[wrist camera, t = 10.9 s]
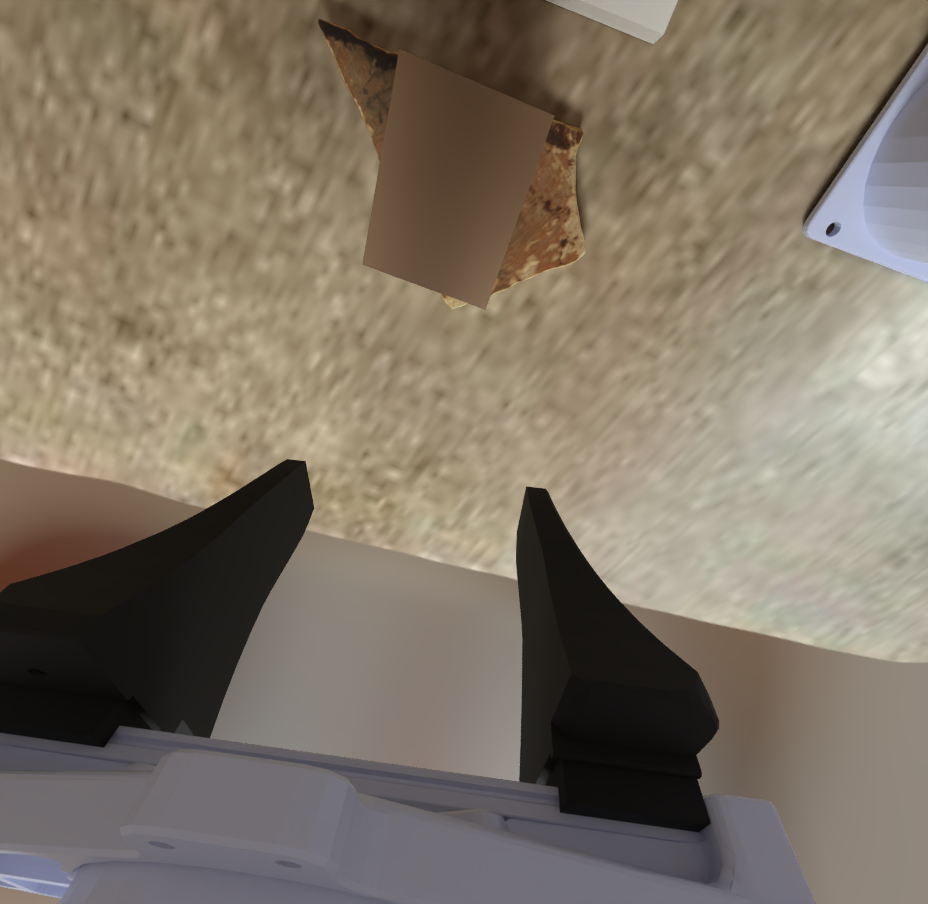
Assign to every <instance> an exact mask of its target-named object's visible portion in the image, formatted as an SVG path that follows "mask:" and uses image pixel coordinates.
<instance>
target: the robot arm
mask: <svg viewBox="0 0 928 904" xmlns="http://www.w3.org/2000/svg"><path fill="white" fill-rule="evenodd" d="M831 223H834V226H835V227H834V229H833V231H832V232H831V233H830V234H828V235H826V229H827V227H828V226H829V225H830V224H831ZM803 233H804V235H805V236H806V237H808V238H810V239H813V240H816V241H818V242H821V243H824V244H826V245H829V246H832V247H834V248H837V249H840V250H842V251H845V252H848V253H850V254H853V255H855V256H858V257H861V258H863V259H866V260H869V261H871V262H874V263H877V264H879V265H882V266H885V267H887V268H890V269H893V270H895V271H898V272H901V273H903V274H906V275H909V276H911V277H914V278H917V279H919V280H922V281H925V282H927V283H928V44H927V45H926V47H925V48H924V49H923V51H922V52H921V54H920V55H919V57H918V58H917V60H916V61H915V63H914V64H913V65H912V67H911V68H910V70H909V71H908V73H907V74H906V76H905V77H904V79H903V80H902V81H901V83H900V84H899V86H898V87H897V89H896V90H895V92H894V93H893V95H892V96H891V97H890V99H889V100H888V102H887V103H886V105H885V106H884V108H883V109H882V111H881V112H880V113H879V115H878V116H877V118H876V119H875V121H874V122H873V124H872V125H871V127H870V128H869V129H868V131H867V132H866V134H865V135H864V137H863V138H862V140H861V141H860V143H859V144H858V145H857V147H856V148H855V150H854V151H853V153H852V154H851V156H850V157H849V159H848V160H847V161H846V163H845V164H844V166H843V167H842V169H841V170H840V172H839V173H838V175H837V176H836V177H835V179H834V180H833V182H832V183H831V185H830V186H829V188H828V189H827V191H826V192H825V193H824V195H823V196H822V198H821V199H820V201H819V202H818V204H817V205H816V207H815V208H814V209H813V211H812V212H811V214H810V215H809V217H808V218H807V220H806V221H805V223H804V225H803ZM313 510H314V505H313V499H312V494H311V489H310V483H309V478H308V472H307V467H306V461H298V460H289V459H287V460H285V461H283V462H282V463H280V464H278V465H277V466H275V467H274V468H272V469H270V470H269V471H267V472H266V473H264V474H263V475H261V476H260V477H258V478H257V479H255V480H253V481H252V482H250V483H249V484H247V485H245V486H244V487H242V488H241V489H239V490H238V491H236V492H234V493H233V494H231V495H229V496H228V497H226V498H224V499H223V500H221V501H219V502H217V503H216V504H214V505H212V506H210V507H209V508H207V509H205V510H204V511H202V512H200V513H198V514H196V515H194V516H193V517H191V518H189V519H187V520H185V521H183V522H181V523H179V524H177V525H175V526H173V527H171V528H168V529H166V530H164V531H162V532H160V533H158V534H155V535H153V536H151V537H148V538H146V539H143V540H141V541H139V542H136V543H134V544H131V545H129V546H126V547H124V548H122V549H119V550H117V551H114V552H111V553H108V554H106V555H103V556H100V557H97V558H94V559H91V560H88V561H85V562H83V563H80V564H77V565H74V566H71V567H67V568H64V569H61V570H57V571H54V572H51V573H47V574H44V575H40V576H37V577H34V578H30V579H27V580H23V581H20V582H16V583H12V584H10V585H8V586H7V587H6V588H5V589H4V590H2V591H1V592H0V886H1V887H6V888H11V889H16V890H21V891H26V892H32V893H36V894H42V895H47V896H52V897H57V898H61V900H60V901H59V903H58V904H816V903H815V901H814V899H813V896H812V894H811V892H810V889H809V887H808V884H807V882H806V880H805V877H804V875H803V872H802V870H801V868H800V865H799V863H798V861H797V858H796V856H795V853H794V851H793V849H792V846H791V844H790V841H789V839H788V837H787V834H786V832H785V830H784V827H783V825H782V822H781V820H780V818H779V815H778V813H777V810H776V808H775V806H774V804H772V803H771V802H770V801H767V800H761V799H753V798H746V797H738V796H732V795H724V794H710V795H705V796H702V793H701V790H700V787H699V783H698V781H697V779H700V778H701V776H702V772H701V769H700V765H699V762H698V759H697V756H696V754H698V753H699V752H700V751H701V750H702V748H704V747H705V746H706V745H707V743H709V742H710V740H711V739H712V738H713V736H714V735H715V734H716V732H717V730H718V729H719V720H718V717H717V715H716V712H715V709H714V707H713V704H712V701H711V699H710V697H709V695H708V692H707V690H706V688H705V686H704V685H703V682H702V680H701V678H700V676H699V674H698V672H697V671H696V670H694V669H693V668H692V667H691V666H689V665H688V664H687V663H686V662H685V661H683V660H682V659H681V658H680V657H679V656H677V655H676V654H675V653H674V652H672V651H671V650H670V649H669V648H668V647H666V646H665V645H664V644H663V643H662V642H661V641H660V640H658V639H657V638H656V637H655V636H654V635H653V634H652V633H651V632H650V631H649V630H648V629H646V628H645V627H644V626H643V625H642V624H641V623H640V622H639V621H638V620H637V619H636V618H635V617H634V616H633V615H632V614H631V613H630V611H629V610H628V609H627V608H626V607H625V606H624V605H623V604H622V603H621V602H620V601H619V600H618V599H617V598H616V597H615V595H614V594H613V593H612V592H611V591H610V590H609V588H608V587H607V586H606V585H605V584H604V582H603V581H602V580H601V579H600V577H599V576H598V575H597V574H596V572H595V571H594V570H593V568H592V567H591V565H590V564H589V563H588V561H587V560H586V558H585V557H584V555H583V554H582V552H581V551H580V549H579V548H578V546H577V545H576V543H575V542H574V540H573V538H572V537H571V535H570V533H569V532H568V530H567V528H566V527H565V525H564V523H563V521H562V519H561V518H560V516H559V514H558V512H557V510H556V508H555V506H554V504H553V502H552V500H551V497H550V495H549V493H548V491H547V490H546V489H542V488H534V487H526V491H525V496H524V500H523V505H522V510H521V515H520V520H519V525H518V530H517V547H516V565H517V577H518V587H519V598H520V609H521V621H522V638H523V647H522V648H523V649H522V656H523V657H522V714H521V715H522V716H521V717H522V718H521V750H520V777H519V782H517V781H510V780H503V779H495V778H489V777H482V776H474V775H467V774H460V773H453V772H445V771H439V770H432V769H425V768H417V767H410V766H403V765H396V764H389V763H381V762H375V761H368V760H361V759H353V758H346V757H338V756H332V755H324V754H318V753H311V752H303V751H296V750H289V749H282V748H275V747H268V746H261V745H254V744H247V743H239V742H232V741H225V740H218V739H211V738H210V736H211V733H212V730H213V727H214V724H215V722H216V719H217V716H218V713H219V711H220V708H221V705H222V702H223V699H224V697H225V694H226V692H227V689H228V686H229V684H230V681H231V679H232V676H233V673H234V671H235V668H236V666H237V663H238V661H239V659H240V656H241V654H242V652H243V649H244V647H245V644H246V642H247V640H248V637H249V635H250V632H251V630H252V628H253V626H254V624H255V621H256V619H257V617H258V615H259V613H260V610H261V608H262V606H263V604H264V602H265V601H266V599H267V597H268V595H269V593H270V591H271V590H272V588H273V586H274V584H275V583H276V581H277V579H278V578H279V576H280V574H281V573H282V571H283V569H284V567H285V566H286V564H287V562H288V561H289V559H290V557H291V555H292V554H293V552H294V550H295V549H296V547H297V545H298V543H299V542H300V540H301V538H302V536H303V534H304V532H305V530H306V527H307V525H308V523H309V520H310V518H311V515H312V512H313Z"/></svg>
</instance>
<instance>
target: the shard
mask: <svg viewBox="0 0 928 904" xmlns="http://www.w3.org/2000/svg"><path fill="white" fill-rule="evenodd" d="M318 24H319V26H320V28H321V30H322V31H323V33H324V36H325V38H326V41H327V44H328V46H329V48H330V50H331V52H332V53H333V55H334V58H335V60H336V63H337V66H338V68H339V70H340V72H341V75H342V77H343V80H344V82H345V84H346V86H347V88H348V90H349V91H350V93H351V95H352V97H353V99H354V100H355V102H356V104H357V106H358V107H359V109H360V112H361V116H362V118H363V120H364V122H365V124H366V127H367V129H368V131H369V134H370V136H371V138H372V141H373V144H374V146H375V149H376V151H377V153H378V157H379V161H380V159H381V153H382V148H383V142H384V136H385V130H386V124H387V118H388V112H389V107H390V101H391V95H392V89H393V83H394V77H395V71H396V66H397V60H398V54H399V53H398V52H389V51H386V50H384V49H382V48H381V47H378V46H375V45H372V44H371V43H369V42H367V41H365V40H362V39H360V38H358V37H357V36H356V35H355V34H354V33H353V32H352V31H351V30H349V29H348V28H344V27H340V26H338V25H335V24H333V23H331V22H328V21H324V20H321V19H319V20H318ZM582 138H583V131H582V130H581V129H580V128H578V127H574V126H568V125H566V124H564V123H563V122H559V121H556V120H553V122H552V124H551V127H550V130H549V133H548V136H547V138H546V141H545V144H544V147H543V150H542V152H541V155H540V158H539V161H538V164H537V166H536V169H535V172H534V175H533V178H532V180H531V183H530V186H529V189H528V192H527V194H526V197H525V200H524V203H523V206H522V209H521V211H520V214H519V217H518V220H517V223H516V225H515V228H514V231H513V234H512V237H511V239H510V242H509V245H508V248H507V251H506V253H505V256H504V259H503V262H502V265H501V267H500V270H499V273H498V276H497V279H496V281H495V284H494V287H493V290H492V293H491V295H490V296H492V295H494V294H496V293H499V292H501V291H503V290H506V289H508V288H510V287H511V286H513V285H514V284H516V283H518V282H522V281H525V280H527V279H529V278H532V277H534V276H536V275H538V274H540V273H543V272H545V271H547V270H550V269H555V268H561V267H563V266H567V265H570V264H572V263H574V262H577V261H578V260H579V259H580V258H581V257H582V256H583V255H584V254H585V251H586V247H585V242H584V235H583V232H582V229H581V226H580V218H579V211H578V206H577V199H576V192H575V185H576V154H577V150H578V147H579V145H580V143H581V141H582ZM442 297H443V299H444V301H445V302H446V303H447V304H448V305H449V306H450V307H451V309H455V308H458V307H461V306H464V305H466V304H467V303H466V302H463V301H460V300H458V299H455V298H452V297H449V296H447V295H444V294H442Z"/></svg>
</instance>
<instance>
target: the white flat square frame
mask: <svg viewBox="0 0 928 904" xmlns="http://www.w3.org/2000/svg"><path fill="white" fill-rule="evenodd" d="M546 1H548V2H551V3H553V4H556V5H558V6H561V7H563V8H566V9H568V10H570V11H573V12H575V13H578V14H580V15H583V16H585V17H588V18H590V19H592V20H595V21H597V22H600V23H602V24H605V25H607V26H610V27H612V28H614V29H617V30H619V31H622V32H624V33H627V34H629V35H632V36H634V37H636V38H639V39H641V40H644V41H646V42H649V43H651V44H654V43H655V42H656V41H657V40H658V39H659V38H661V37H662V36H663V35H664V33H665V30H666V28H667V26H668V23H669V21H670V18H671V16H672V13H673V11H674V9H675V6H676V4H677V1H678V0H546Z"/></svg>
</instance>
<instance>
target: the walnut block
mask: <svg viewBox="0 0 928 904" xmlns="http://www.w3.org/2000/svg"><path fill="white" fill-rule="evenodd" d="M553 119H554V115H552V114H550V113H547V112H545V111H543V110H540V109H538V108H536V107H533V106H531V105H529V104H526V103H524V102H522V101H519V100H517V99H515V98H512V97H510V96H508V95H506V94H503V93H501V92H499V91H496V90H494V89H492V88H489V87H487V86H485V85H482V84H480V83H478V82H475V81H473V80H471V79H468V78H466V77H464V76H461V75H459V74H457V73H455V72H452V71H450V70H448V69H445V68H443V67H441V66H438V65H436V64H434V63H431V62H429V61H427V60H424V59H422V58H420V57H417V56H415V55H413V54H410V53H408V52H406V51H404V50H401V49H399V54H398V60H397V66H396V71H395V77H394V83H393V89H392V95H391V101H390V107H389V112H388V118H387V124H386V130H385V136H384V142H383V148H382V153H381V159H380V165H379V171H378V177H377V183H376V188H375V194H374V200H373V206H372V212H371V218H370V224H369V229H368V235H367V241H366V247H365V253H364V259H363V265H365V266H368V267H371V268H373V269H376V270H379V271H381V272H384V273H387V274H390V275H392V276H395V277H398V278H400V279H403V280H406V281H409V282H411V283H414V284H417V285H420V286H422V287H425V288H428V289H430V290H433V291H436V292H439V293H441V294H444V295H447V296H449V297H452V298H455V299H458V300H460V301H463V302H466V303H469V304H471V305H474V306H477V307H479V308H482V309H486V307H487V304H488V301H489V298H490V295H491V293H492V290H493V287H494V284H495V281H496V279H497V276H498V273H499V270H500V267H501V265H502V262H503V259H504V256H505V253H506V251H507V248H508V245H509V242H510V239H511V237H512V234H513V231H514V228H515V225H516V223H517V220H518V217H519V214H520V211H521V209H522V206H523V203H524V200H525V197H526V194H527V192H528V189H529V186H530V183H531V180H532V178H533V175H534V172H535V169H536V166H537V164H538V161H539V158H540V155H541V152H542V150H543V147H544V144H545V141H546V138H547V136H548V133H549V130H550V127H551V124H552V122H553Z"/></svg>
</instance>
